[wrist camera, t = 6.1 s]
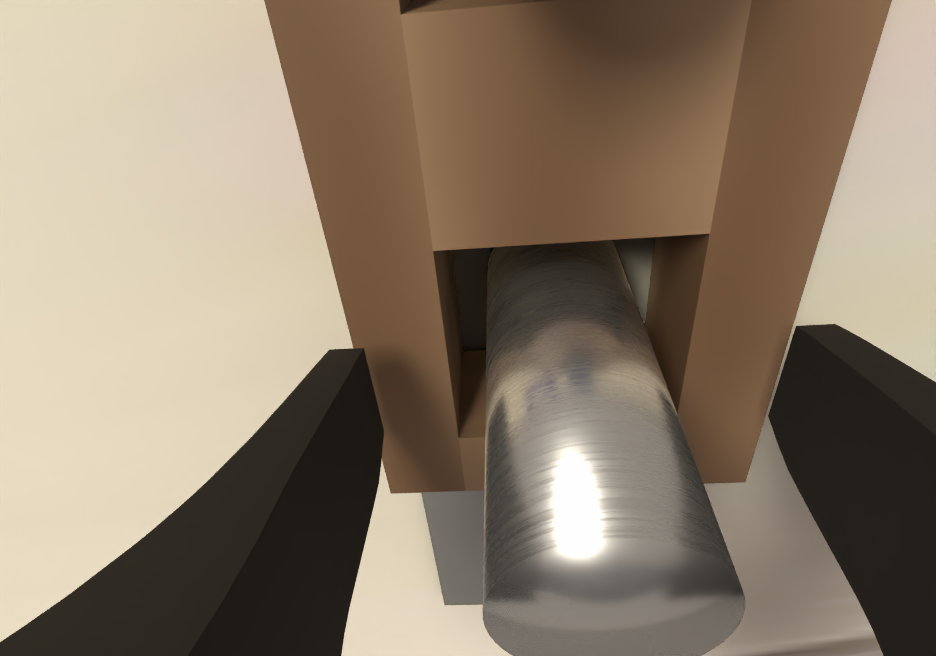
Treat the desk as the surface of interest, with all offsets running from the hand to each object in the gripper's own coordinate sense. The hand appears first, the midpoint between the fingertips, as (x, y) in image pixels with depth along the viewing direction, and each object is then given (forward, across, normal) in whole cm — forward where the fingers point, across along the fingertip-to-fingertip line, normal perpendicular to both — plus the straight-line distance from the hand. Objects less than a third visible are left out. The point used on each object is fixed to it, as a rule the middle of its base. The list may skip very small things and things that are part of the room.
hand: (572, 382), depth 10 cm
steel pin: (+4, 0, 0) cm, 4 cm away
